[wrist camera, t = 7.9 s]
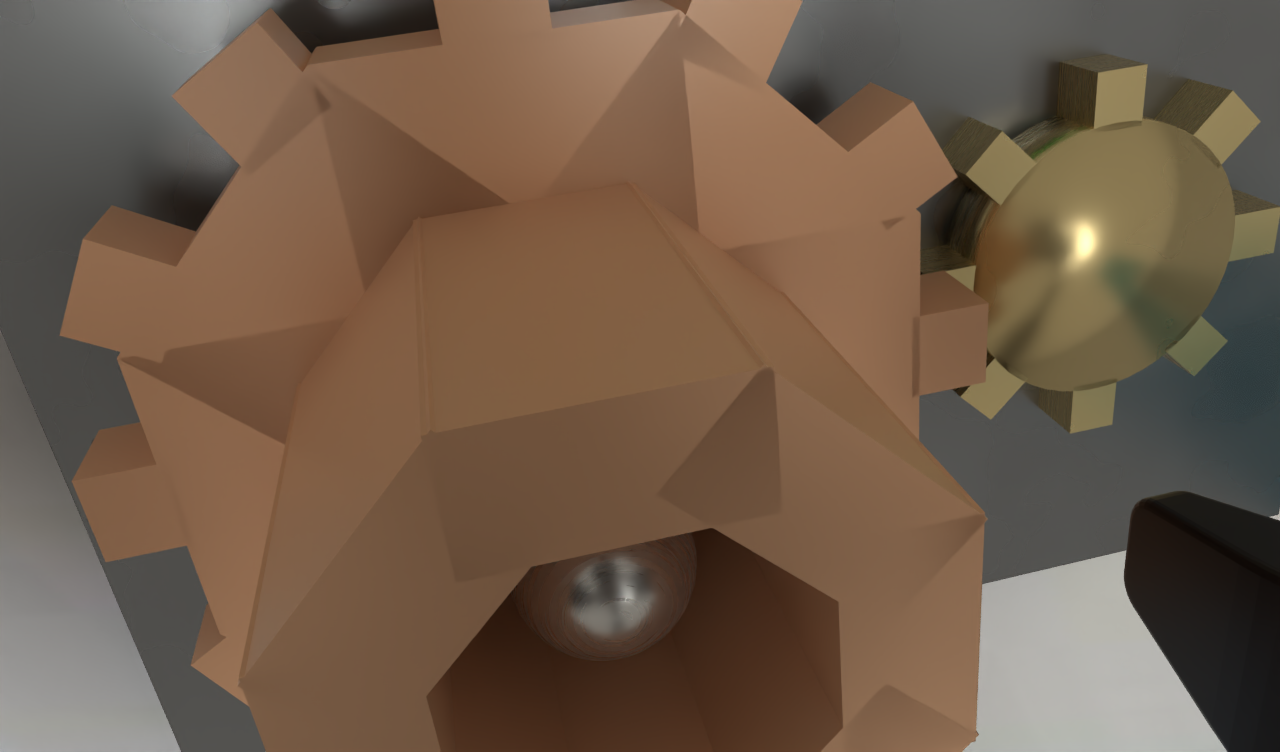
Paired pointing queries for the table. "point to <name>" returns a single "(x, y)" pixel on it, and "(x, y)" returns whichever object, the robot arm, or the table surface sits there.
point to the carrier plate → (950, 241)
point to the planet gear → (548, 387)
